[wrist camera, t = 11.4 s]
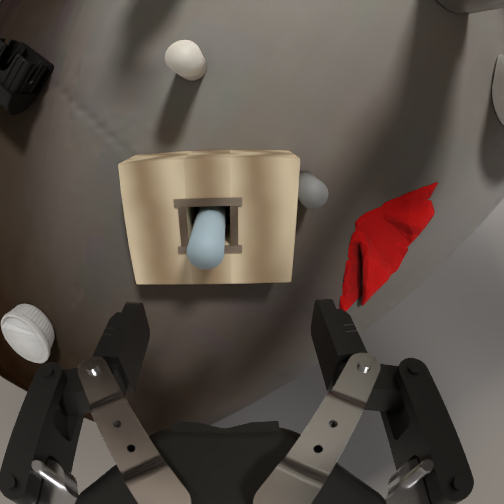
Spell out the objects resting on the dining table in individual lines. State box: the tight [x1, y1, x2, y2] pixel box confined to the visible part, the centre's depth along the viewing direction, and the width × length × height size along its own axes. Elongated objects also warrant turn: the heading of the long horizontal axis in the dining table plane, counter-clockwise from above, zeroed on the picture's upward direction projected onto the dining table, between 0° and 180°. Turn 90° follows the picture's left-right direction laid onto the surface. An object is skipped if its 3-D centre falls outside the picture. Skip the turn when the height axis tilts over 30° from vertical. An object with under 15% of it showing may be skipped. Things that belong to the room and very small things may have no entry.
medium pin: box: [165, 40, 207, 81], centre depth 24 cm, size 3×3×8 cm
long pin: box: [187, 206, 226, 269], centre depth 30 cm, size 3×3×12 cm
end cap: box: [0, 38, 54, 115], centre depth 21 cm, size 10×7×7 cm
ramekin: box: [1, 304, 55, 363], centre depth 40 cm, size 11×11×5 cm
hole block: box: [118, 150, 300, 284], centre depth 33 cm, size 18×14×6 cm
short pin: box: [298, 171, 328, 209], centre depth 33 cm, size 3×3×5 cm
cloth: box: [340, 182, 438, 312], centre depth 39 cm, size 26×14×2 cm, turn 137°
